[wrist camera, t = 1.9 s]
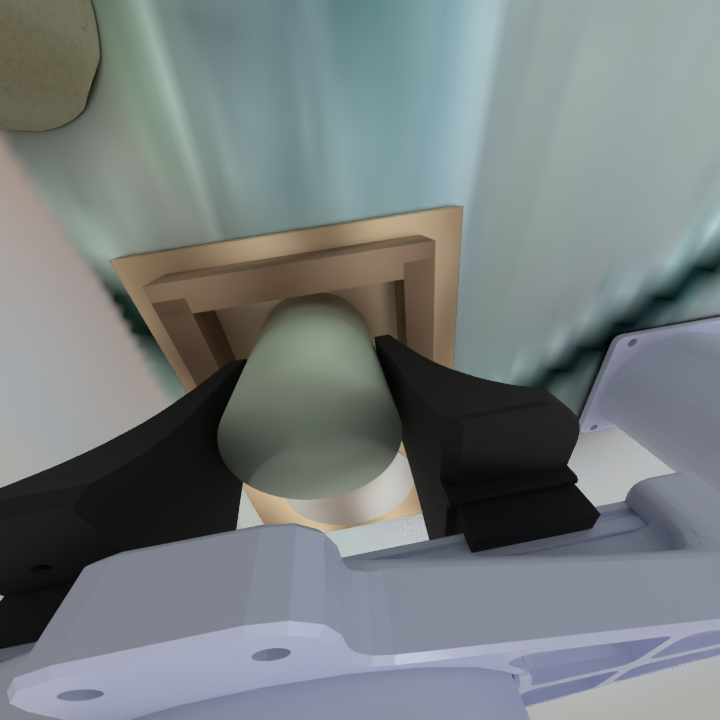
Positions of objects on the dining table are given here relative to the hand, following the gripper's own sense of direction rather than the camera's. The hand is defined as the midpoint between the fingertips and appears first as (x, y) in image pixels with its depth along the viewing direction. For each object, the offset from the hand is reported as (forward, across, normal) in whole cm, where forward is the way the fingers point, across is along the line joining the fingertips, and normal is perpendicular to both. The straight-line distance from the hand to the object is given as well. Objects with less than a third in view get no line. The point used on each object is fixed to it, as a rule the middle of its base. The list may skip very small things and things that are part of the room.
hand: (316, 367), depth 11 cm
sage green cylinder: (+2, 0, +1) cm, 3 cm away
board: (+3, 0, +6) cm, 7 cm away
